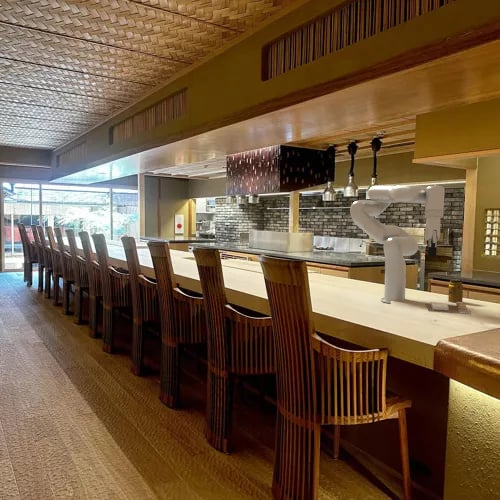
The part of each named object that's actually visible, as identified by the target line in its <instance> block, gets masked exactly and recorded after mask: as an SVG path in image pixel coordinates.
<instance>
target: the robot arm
mask: <svg viewBox="0 0 500 500" xmlns="http://www.w3.org/2000/svg"><path fill="white" fill-rule="evenodd" d="M445 190H446V189H445V187H444V186H442V185H429V186H420V185H397V184H375V185H372V186H371V187H370V188H369V189H368V192H367V196H368V198H369V199H370V200H369V199H358V200H356V201H354V202H352V204H351V205H350V210H349V211H350V212H349V214H350V218H351V219H352V222H353V223H354V224H355V225H356V226H357V227H358V228H359V229H361V230H362V231H363V232H364V233H366V234H367V235H368V237H370V238H372V240H374V241H375V242H376V243H378V244H379V245H383V254H384V295H383V296H384V297H381V298H380V301H381V302H382V303H387V304H391V301H394V302H399V301H400V302H402V301H403V302H404V301H406V281H407V280H406V279H407V278H406V277H407V276H406V275H407V265H406V260H405V258H404V257H411V256H414V255H415V254H416V253H417V252H418V249H419V243H418V241H417V239H416V238H415V237H413V236H412V235H411V234H410V233H408V232H407V231H406V230H404V229H403V228H402V227H400V226H398V225H394V224H390V225H389V224H383V223H382V222H381V221H379V220H378V219H376V218H375V217H378V216H379V215H381V214H382V213H383V212H384V211H385V210H386V209H387V208H388V207H390V205H391V204H396V203H407V204H410V203H411V204H425V205H424V218H426V221H425V229H424V230H425V232H424V239H425V240H426V241H428V246H427V256H429V257H437V241H439V240H440V237H441V219H444V208H445V207H444V206H445V193H446V192H445Z"/></svg>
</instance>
